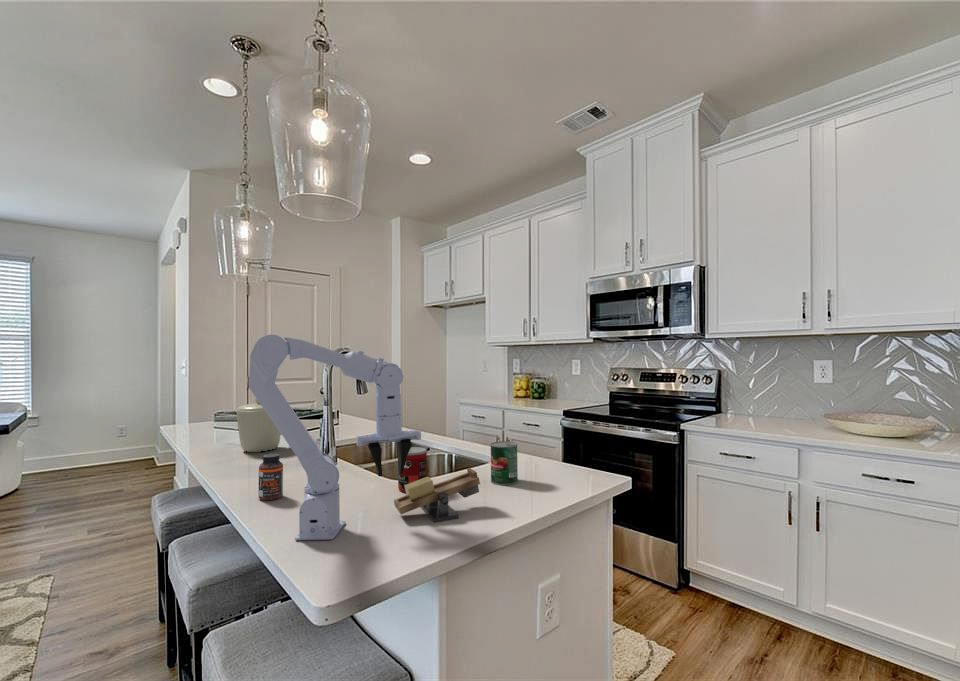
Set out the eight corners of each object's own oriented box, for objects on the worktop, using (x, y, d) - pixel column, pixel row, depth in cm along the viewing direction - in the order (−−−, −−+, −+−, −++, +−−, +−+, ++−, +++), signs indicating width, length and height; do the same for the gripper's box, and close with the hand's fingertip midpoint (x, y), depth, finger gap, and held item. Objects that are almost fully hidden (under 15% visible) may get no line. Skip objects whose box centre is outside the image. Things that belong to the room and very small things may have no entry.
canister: (277, 443, 195) (277, 393, 195) (291, 450, 181) (291, 396, 181) (230, 449, 183) (229, 396, 183) (240, 457, 169) (240, 400, 169)
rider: (411, 503, 106) (408, 489, 106) (407, 499, 109) (404, 485, 109) (435, 494, 108) (432, 480, 108) (431, 490, 111) (428, 476, 111)
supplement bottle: (260, 503, 118) (260, 458, 118) (256, 497, 123) (256, 454, 123) (285, 498, 122) (284, 455, 122) (280, 492, 127) (280, 451, 127)
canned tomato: (487, 484, 132) (486, 445, 132) (495, 476, 140) (494, 440, 140) (514, 486, 130) (513, 447, 130) (520, 478, 137) (520, 441, 137)
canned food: (395, 487, 130) (395, 448, 130) (423, 484, 133) (423, 445, 133) (401, 495, 123) (400, 454, 123) (430, 491, 126) (429, 451, 126)
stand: (433, 522, 103) (433, 499, 104) (419, 505, 115) (419, 484, 115) (458, 518, 106) (458, 495, 106) (442, 502, 117) (441, 481, 117)
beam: (402, 522, 104) (398, 502, 103) (396, 514, 109) (392, 495, 109) (482, 491, 112) (477, 472, 111) (472, 485, 117) (468, 467, 117)
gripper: (359, 419, 100) (360, 482, 99) (424, 414, 105) (425, 473, 105) (354, 415, 106) (356, 474, 106) (415, 410, 112) (417, 466, 112)
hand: (390, 473), depth 106 cm, fingers open, 4 cm apart
